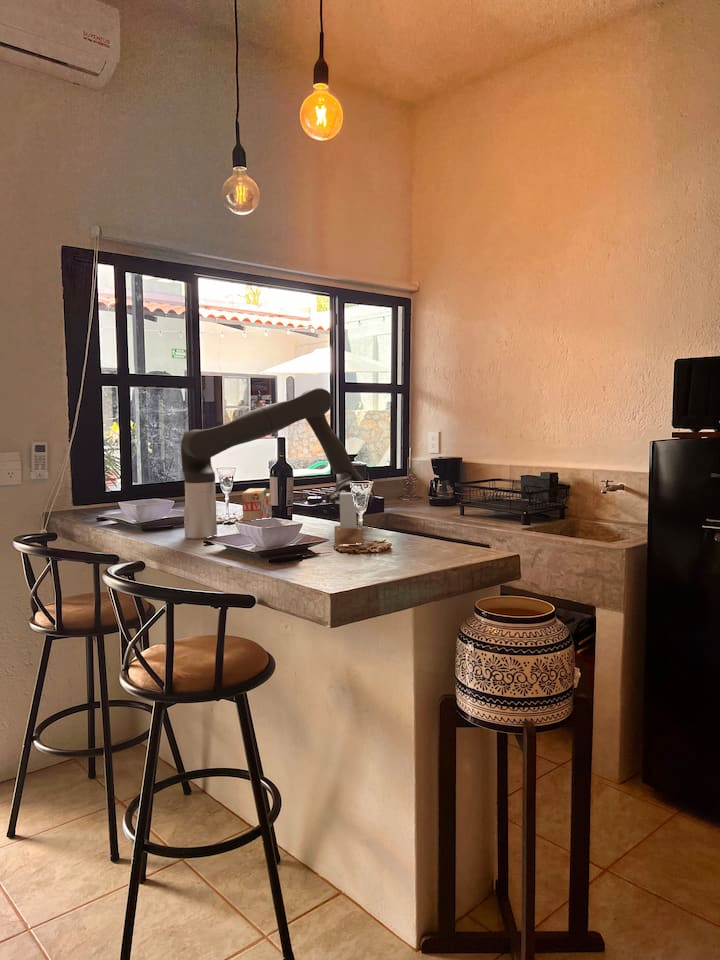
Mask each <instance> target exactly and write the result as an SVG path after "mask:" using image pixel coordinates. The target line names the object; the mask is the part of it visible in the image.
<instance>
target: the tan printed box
mask: <svg viewBox="0 0 720 960" xmlns="http://www.w3.org/2000/svg"><path fill="white" fill-rule="evenodd" d="M241 495H242V496H241V497H242V523H243V522H247V521H251V520H256V519H262V518H270V517H271V518H272V502H271V499H272V498H271V497H272V496H271V493H268V492H267V488H266V487H264V488H263V487H262V488H261V487H260V488H259V487H258V488H256V487H255V488H253V487H252V488H248V489H246V490H245V491H243V492H242V493H241Z"/></svg>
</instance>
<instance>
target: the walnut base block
mask: <svg viewBox="0 0 720 960" xmlns="http://www.w3.org/2000/svg"><path fill="white" fill-rule="evenodd" d="M356 543H362V544H363V529H362V527H361V526H359V525H357V524H356V529H340V525H334V544H335V545H336V544H338V545H340V544H356Z"/></svg>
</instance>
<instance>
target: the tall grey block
mask: <svg viewBox="0 0 720 960" xmlns="http://www.w3.org/2000/svg"><path fill="white" fill-rule="evenodd" d="M354 501H355V500H354ZM355 508H356V509H355ZM339 522H340V523H339V524H340V525H339V526H340V529H356V525H357V505H356V504H355V507H354V502H353V496H352V492H340V504H339Z"/></svg>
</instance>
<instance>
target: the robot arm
mask: <svg viewBox="0 0 720 960" xmlns="http://www.w3.org/2000/svg"><path fill="white" fill-rule="evenodd" d="M333 403H334V402H333V396H332V394H331V393H330V392H329V391H328V390H327V389H325V388H322V387H314V388H311V389H308V390H306V391H304V392H303V393H301V395H299V396H296V397H294V398H292V399H288V400H285V401H284V400H282V401H279V402H275V403H271V404H268V405H267V404H266V405H263V406H259V407H257V408H254V409H252V410H250V411H246V412H245V413H243V414H241V415H239V416H238V417H236V418H235V419H233V420H231V421H230V422H227V423H224V424H222V425H219V426H214V427H211V428H207V429H191V430H189V431H187V432H185V433H184V434H183V437H182V438H181V442H180V454H181V469H182V473H183V477H184V495H185V496H184V498H185V501H184V502H185V506H184V507H183V520H184V521H183V522H184V523H183V524H184V538H185V539H194V540H195V539H196V540H197V539H199V540H201V538H204V537H209V536H214V535H217V536H218V526H217V523H218V522H217V521H218V520H217V518H218V517H217V496H216V495H217V494H216V472H215V471H214V470H213V469H214V468H213V466H212V459H211V458H212V457H215V456H216V455H218V454H221V453H222V452H224V451H226V450H228V449H230V448H233V447H236V446H239V445H242V444H246V443H249V442H252V441H256V440H259V439H261V438H265V437H267V436H270V435H273V434H275V433H277V432H279V431H282V430H283V429H286V428H288V427H289V426H292V425H293V424H294V423H297V422H300V421H302V420H306V421H307V423H308V425H309V426H310V428H311V429H312V431H313V433H314V435H315V437H316V438H317V440H318V442H319V444H320V446H321V448H322V450H323V452H324V454H325V457H326V459H327V461H328V463H329V466H330V468H331V471H332V472H333V474H334V475H343V474H348V475H350V476H349V477H347V478H344V479H343V480H340V481H338V482H337V483H336V484H335V493H334V494H333V493H332V492H330V491H329V492H327V493H326V494H325V495H324V499H325V500H324V501H325V504H329V503H331V504H332V505H336V504H338V505H340V492H351V488H350V481H364V480H365V479H364V477H363V476H362V475H361V474H360V473H359V472H358V470H357V469H356V468H355V466H354V464H353V463H352V460H351V459H350V456H349V454H348V452H347V449H346V447H345V446H344V444H343V443H342V441H341V439H340V438H339V437H338V435H337V434H336V433H335V432H334V430H333V429H332V427H331V426H330V423H329V422H328V419H327V417H326V413H328V412H329V411H330V409H331V408H332V405H333ZM369 492H370V497H369V501H367V502H368V503H369V504H372V503H373V493H372V492H371V491H369ZM204 539H205V538H204Z"/></svg>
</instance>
